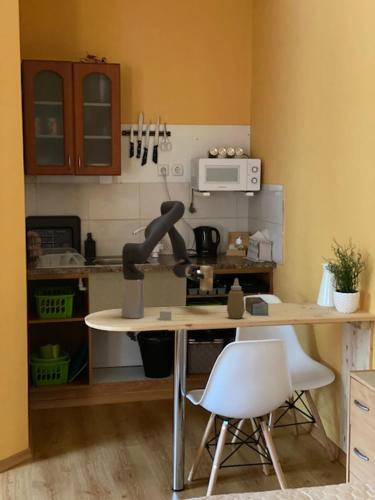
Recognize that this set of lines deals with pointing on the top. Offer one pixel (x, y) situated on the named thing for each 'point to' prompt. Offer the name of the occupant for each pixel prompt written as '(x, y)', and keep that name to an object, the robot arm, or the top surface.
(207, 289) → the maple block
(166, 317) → the grey block
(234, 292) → the squeeze bottle
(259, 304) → the beverage carton
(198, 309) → the top surface
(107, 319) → the top surface
